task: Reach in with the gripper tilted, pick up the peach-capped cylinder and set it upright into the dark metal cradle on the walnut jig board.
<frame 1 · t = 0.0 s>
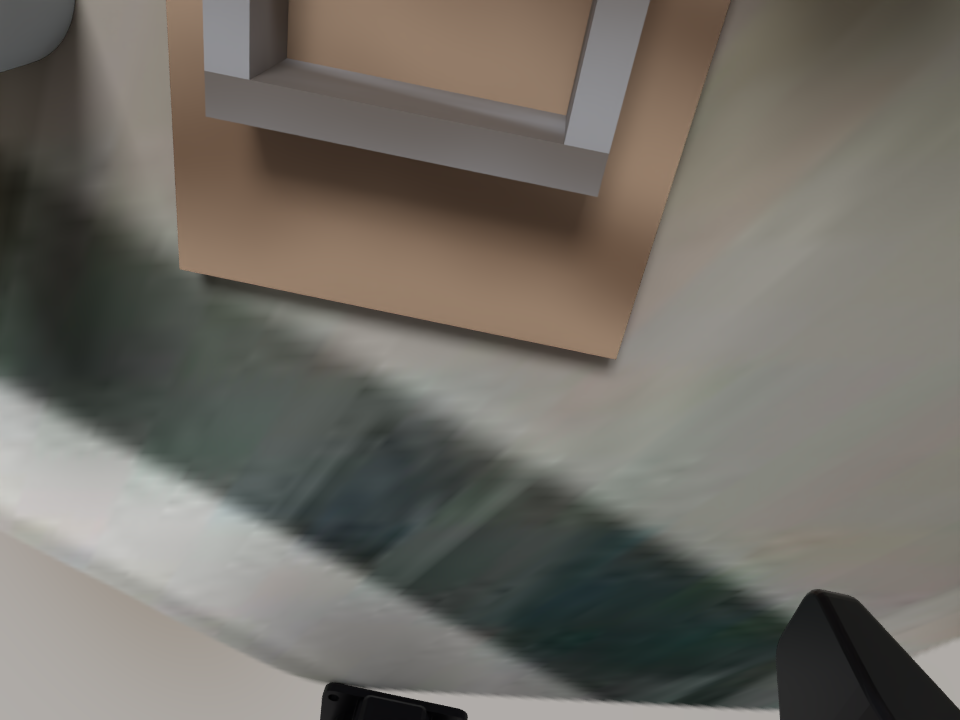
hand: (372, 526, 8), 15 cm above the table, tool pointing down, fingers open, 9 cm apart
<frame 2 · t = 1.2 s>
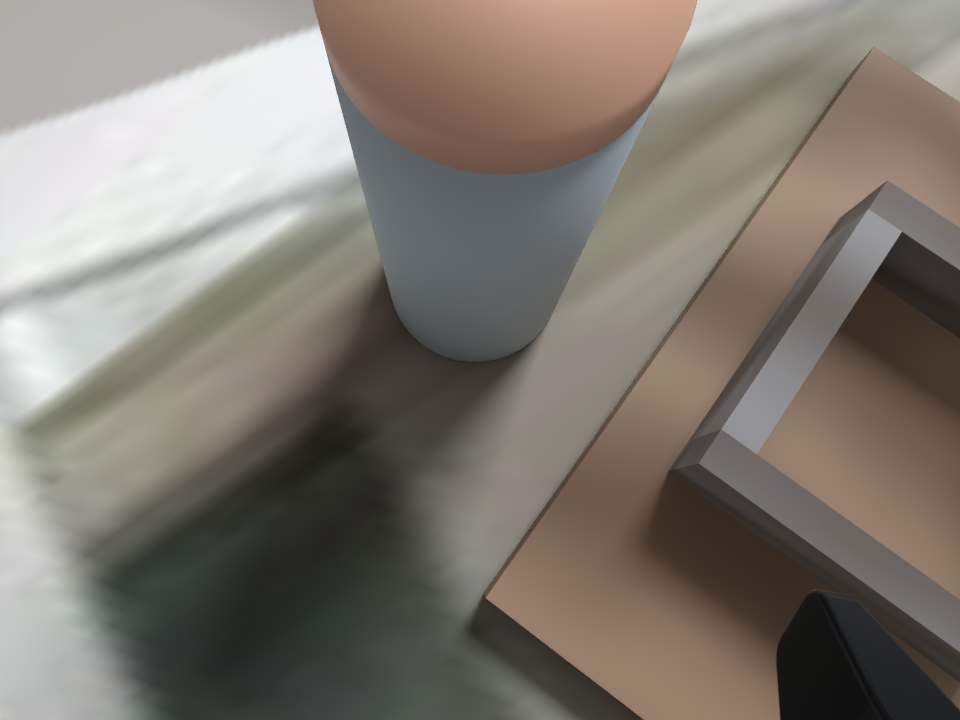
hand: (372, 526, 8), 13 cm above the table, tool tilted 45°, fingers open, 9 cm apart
jig board: (872, 440, 22), on the table
peach-capped cylinder: (474, 279, 22), on the table
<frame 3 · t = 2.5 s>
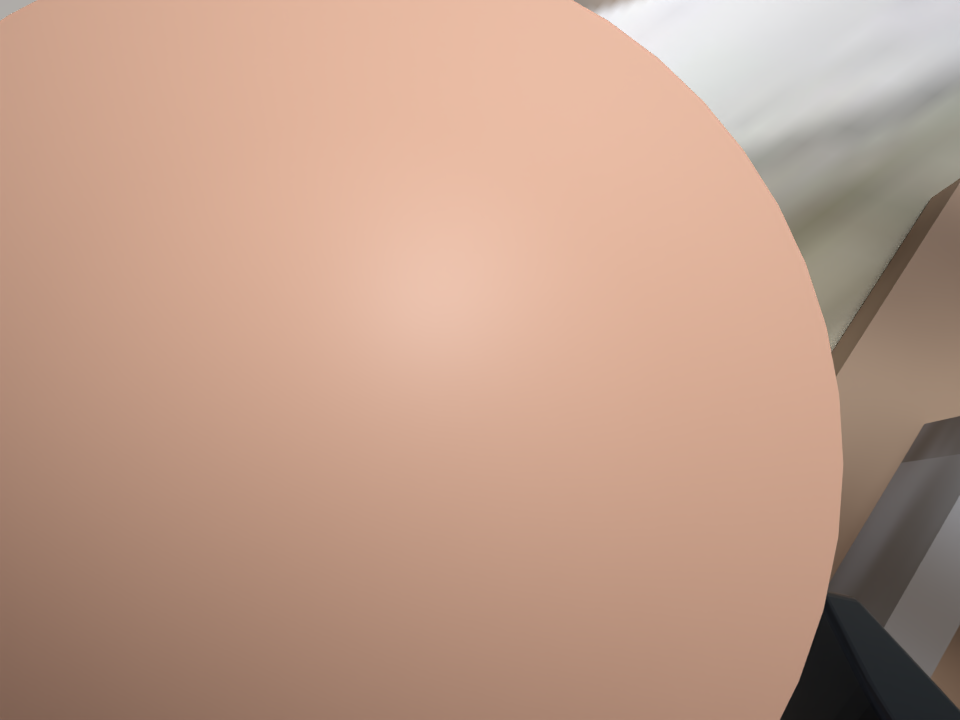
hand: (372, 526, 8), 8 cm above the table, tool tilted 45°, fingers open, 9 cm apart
peach-capped cylinder: (417, 502, 16), on the table
when the fingers open (9 cm above the table, at t = 7.5 s): peach-capped cylinder drops 1 cm, resting on jig board.
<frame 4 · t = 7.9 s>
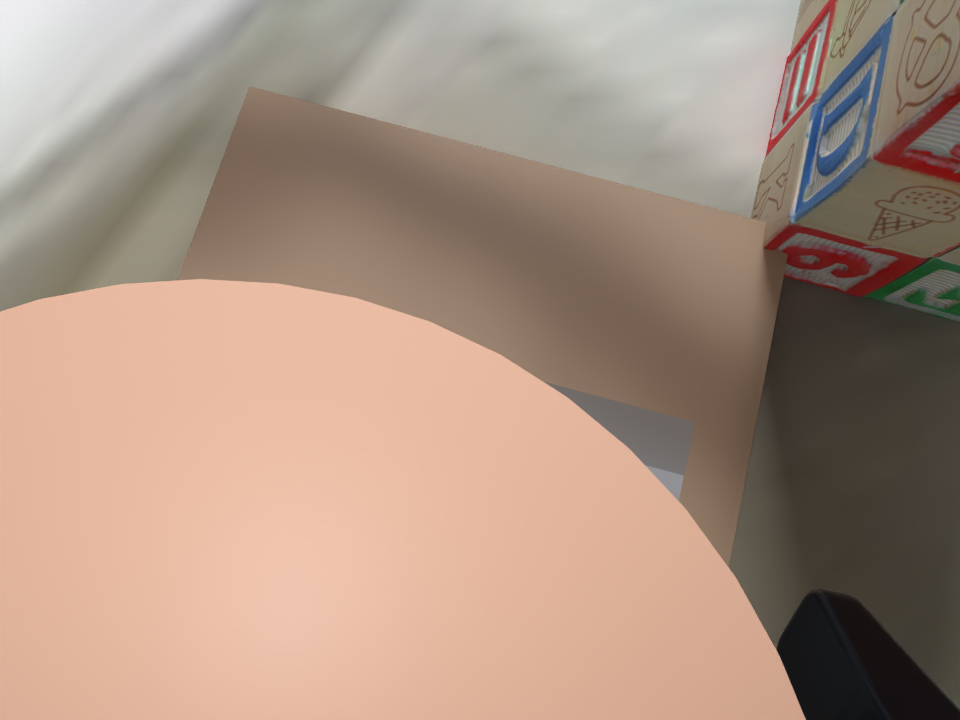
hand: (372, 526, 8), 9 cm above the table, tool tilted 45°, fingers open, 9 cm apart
jig board: (401, 587, 17), on the table
peach-capped cylinder: (397, 596, 15), point 1 cm above the table, touching jig board
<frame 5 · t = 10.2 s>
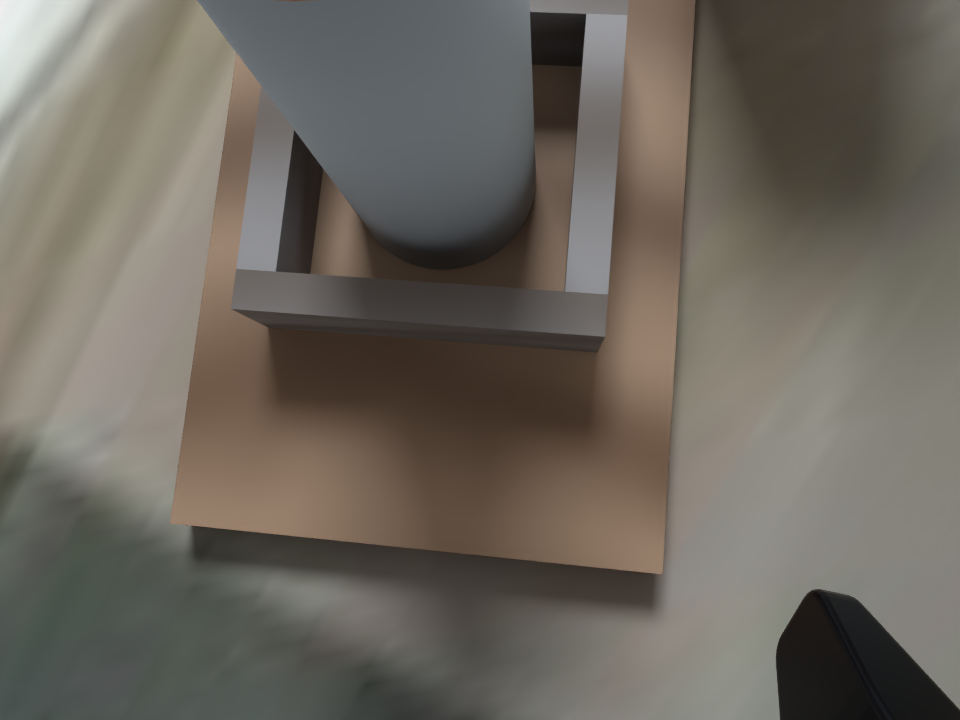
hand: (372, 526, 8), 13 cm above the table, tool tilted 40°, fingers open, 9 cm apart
jig board: (450, 195, 22), on the table
peach-capped cylinder: (445, 181, 21), point 1 cm above the table, touching jig board
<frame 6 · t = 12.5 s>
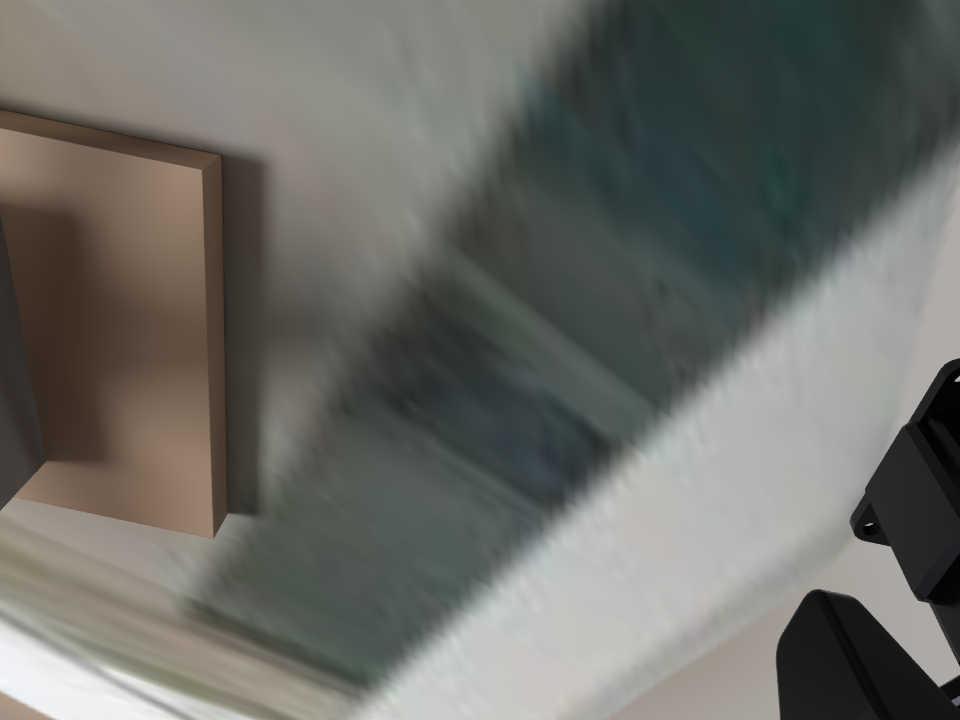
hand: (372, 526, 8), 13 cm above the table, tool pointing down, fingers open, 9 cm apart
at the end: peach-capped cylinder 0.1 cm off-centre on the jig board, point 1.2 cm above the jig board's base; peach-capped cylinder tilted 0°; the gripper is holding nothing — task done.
